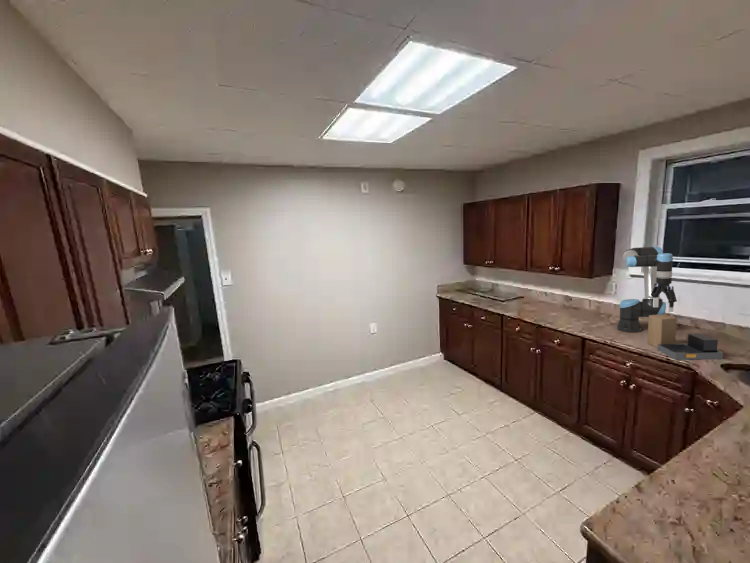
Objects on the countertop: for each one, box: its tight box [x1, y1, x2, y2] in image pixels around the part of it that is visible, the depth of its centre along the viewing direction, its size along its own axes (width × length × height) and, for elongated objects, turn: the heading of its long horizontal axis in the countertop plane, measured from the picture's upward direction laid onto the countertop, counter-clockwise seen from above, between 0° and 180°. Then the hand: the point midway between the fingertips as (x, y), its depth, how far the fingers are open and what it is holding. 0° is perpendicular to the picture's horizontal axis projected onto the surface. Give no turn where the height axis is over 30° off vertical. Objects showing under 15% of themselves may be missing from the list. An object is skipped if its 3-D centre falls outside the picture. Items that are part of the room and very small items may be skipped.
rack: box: [657, 333, 724, 361], centre depth 199 cm, size 17×24×11 cm
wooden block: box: [647, 314, 677, 348], centre depth 216 cm, size 10×10×20 cm
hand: (662, 309), depth 213 cm, fingers open, 13 cm apart
